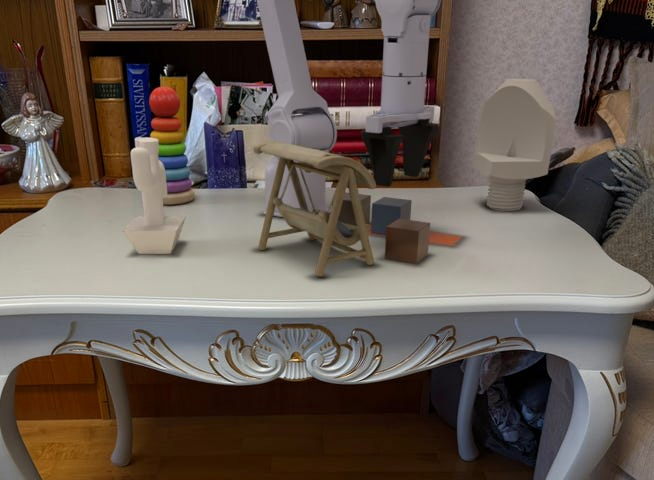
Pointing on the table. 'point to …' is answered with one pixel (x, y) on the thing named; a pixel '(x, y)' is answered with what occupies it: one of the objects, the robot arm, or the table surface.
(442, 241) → the line strip
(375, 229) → the slate block
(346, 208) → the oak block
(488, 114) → the beige tall piece
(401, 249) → the walnut block
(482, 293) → the table surface
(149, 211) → the figurine
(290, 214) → the swing bench
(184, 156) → the stacking toy
